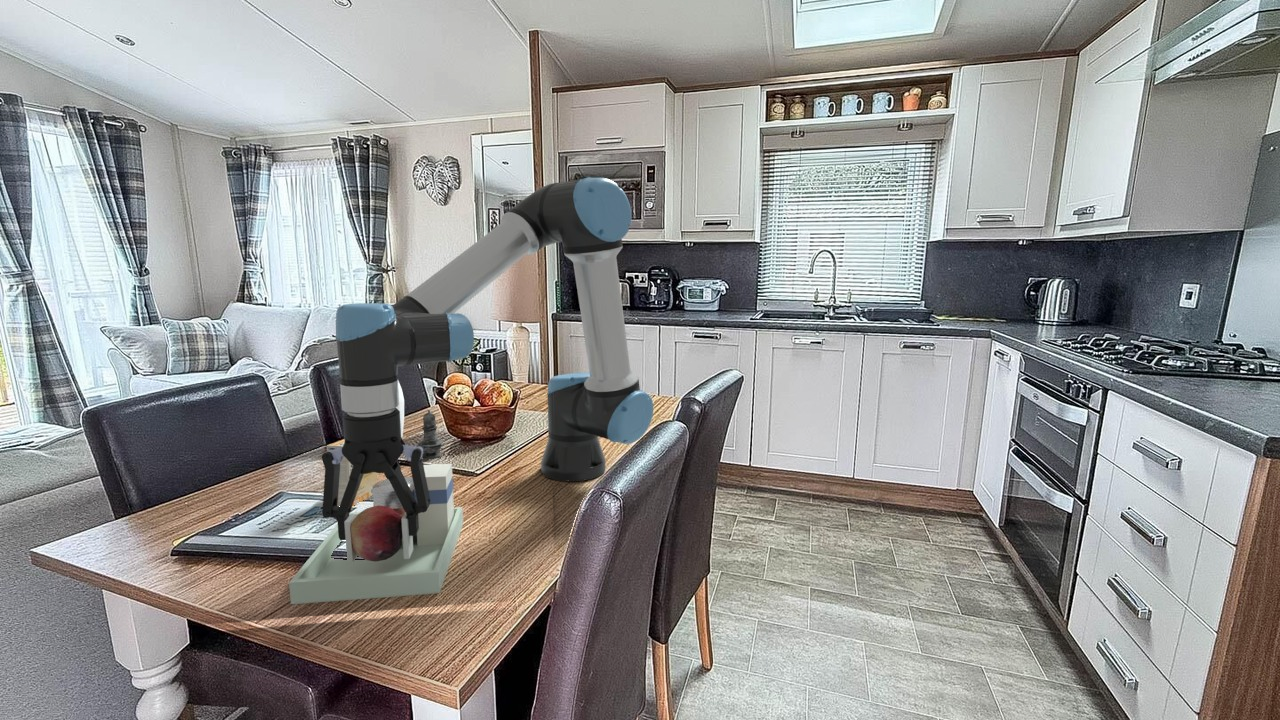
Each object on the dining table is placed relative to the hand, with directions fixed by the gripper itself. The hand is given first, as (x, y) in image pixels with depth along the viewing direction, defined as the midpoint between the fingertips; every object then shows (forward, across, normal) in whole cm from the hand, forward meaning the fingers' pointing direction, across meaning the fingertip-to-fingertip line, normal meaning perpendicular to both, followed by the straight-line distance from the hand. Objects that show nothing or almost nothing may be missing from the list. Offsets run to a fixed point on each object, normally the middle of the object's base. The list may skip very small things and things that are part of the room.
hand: (381, 556), depth 84 cm
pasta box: (+3, -6, -10) cm, 12 cm away
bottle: (+4, +19, -70) cm, 73 cm away
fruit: (0, 0, 0) cm, 1 cm away
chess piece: (+4, +4, -56) cm, 56 cm away
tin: (+2, 0, -10) cm, 10 cm away
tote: (+3, 0, -4) cm, 5 cm away
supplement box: (+4, +13, -29) cm, 32 cm away
